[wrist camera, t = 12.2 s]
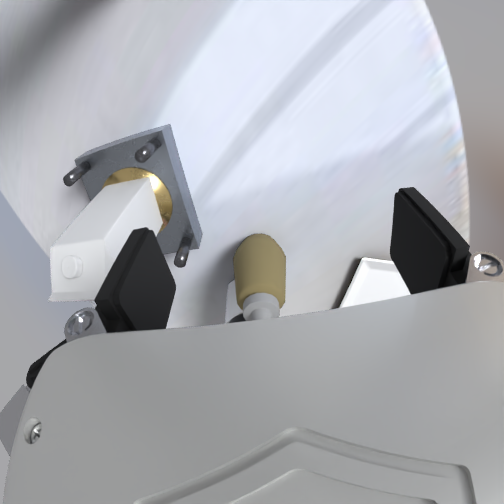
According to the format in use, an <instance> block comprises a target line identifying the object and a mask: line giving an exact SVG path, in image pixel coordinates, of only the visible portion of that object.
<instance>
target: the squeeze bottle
mask: <svg viewBox="0 0 504 504" xmlns="http://www.w3.org/2000/svg"><path fill="white" fill-rule="evenodd" d="M233 265H234V277H235V289H236V300H237V304H238V306H239V307H240V309H241V310H243V317H244V318H245V320H246V321H253V320H261V319H269V318H277V317H279V316H280V309H281V308H282V306H283V304H284V303H285V280H286V256H285V254H284V252H283V250H282V249H281V247H280V246H279V245H278V244H277V243H276V241H275V240H274V239H272V238H271V237H270V236H268V235H265V234H253V235H251V236H248V237H247V238H246V239H245V240H244V241H243V242H242V243H241V245H240V246H239V248H238V249H237V250H236V253H235V255H234V258H233Z"/></svg>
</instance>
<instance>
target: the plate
mask: <svg viewBox="0 0 504 504" xmlns="http://www.w3.org/2000/svg"><path fill="white" fill-rule="evenodd" d="M406 295H411V294H410V292H409V290H408V288H407V286H406V284H405V282H404V281H403V279H402V277H401V275H400V273H399V271H398V270H397V268H396V266H395V264H394V263H393V261H388V260H381V259H374V258H366V257H363V258H362V259H361V262H360V264H359V266H358V268H357V271H356V273H355V275H354V277H353V279H352V282H351V284H350V286H349V288H348V290H347V292H346V294H345V297H344V299H343V301H342V303H341V305H340V307H339V308H343V307H349V306H354V305H360V304H365V303H371V302H376V301H381V300H387V299H392V298H397V297H402V296H406Z"/></svg>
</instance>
